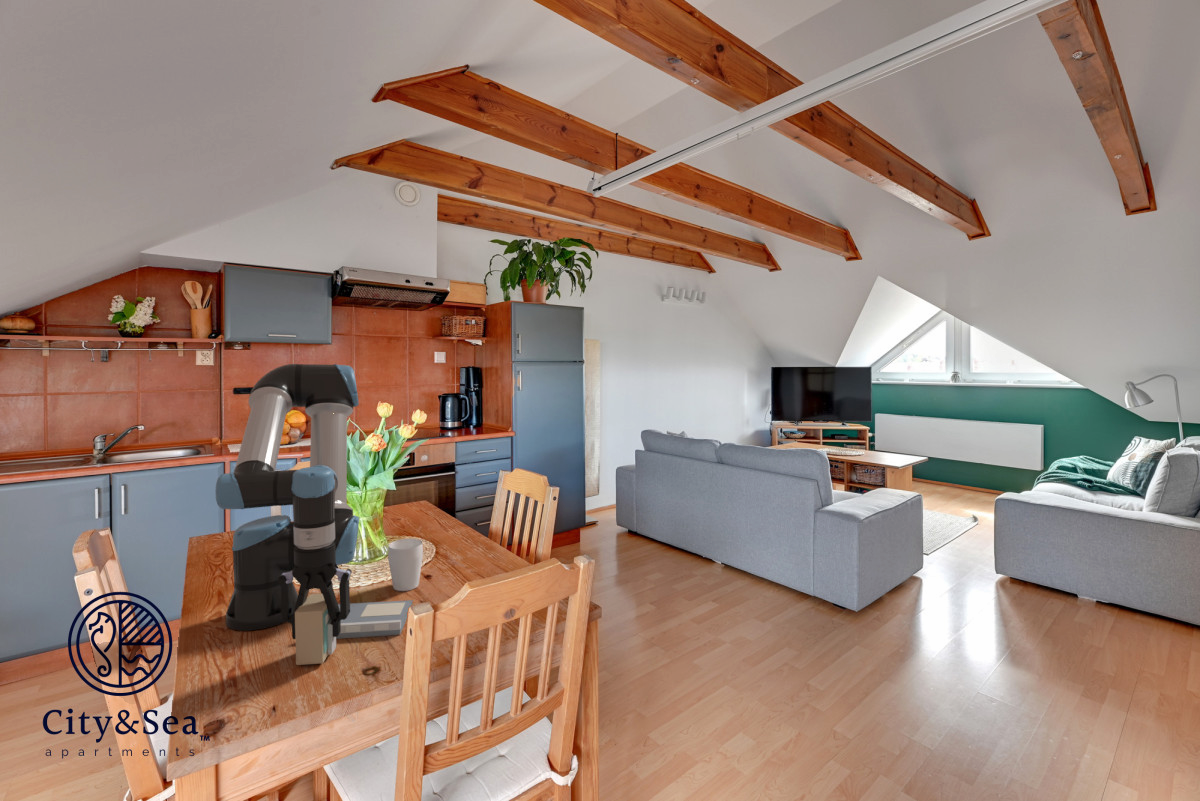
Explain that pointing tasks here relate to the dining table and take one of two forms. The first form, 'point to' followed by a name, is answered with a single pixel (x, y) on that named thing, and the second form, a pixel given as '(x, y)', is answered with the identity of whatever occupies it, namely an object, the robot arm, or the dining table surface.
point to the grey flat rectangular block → (374, 619)
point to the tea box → (312, 630)
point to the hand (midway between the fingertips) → (317, 651)
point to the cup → (405, 563)
